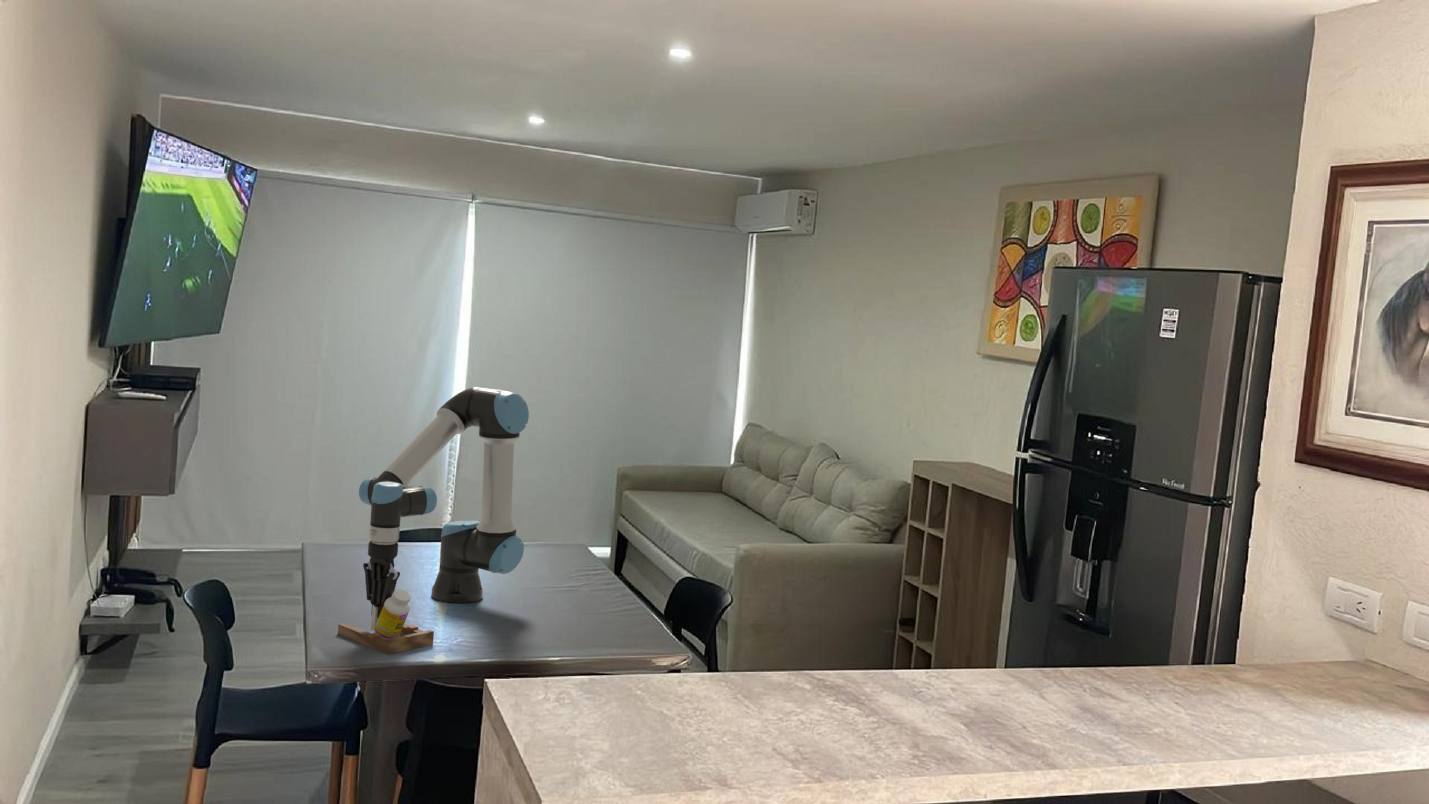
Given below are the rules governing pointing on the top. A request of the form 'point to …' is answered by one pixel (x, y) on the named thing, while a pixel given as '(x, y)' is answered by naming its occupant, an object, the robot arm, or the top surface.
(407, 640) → the wooden frame
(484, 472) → the robot arm
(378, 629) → the supplement bottle
